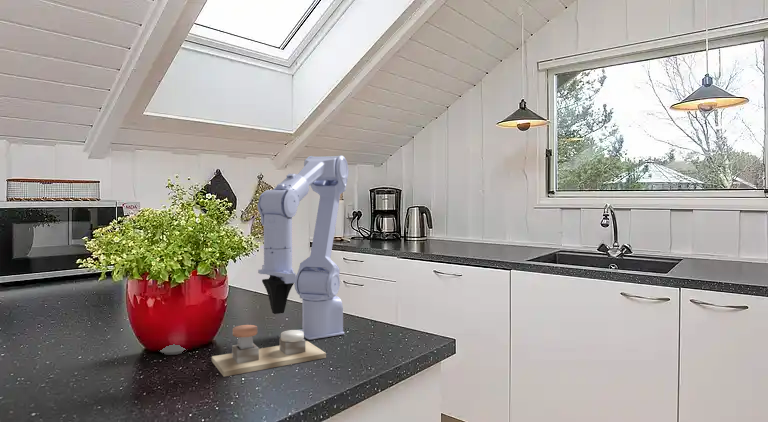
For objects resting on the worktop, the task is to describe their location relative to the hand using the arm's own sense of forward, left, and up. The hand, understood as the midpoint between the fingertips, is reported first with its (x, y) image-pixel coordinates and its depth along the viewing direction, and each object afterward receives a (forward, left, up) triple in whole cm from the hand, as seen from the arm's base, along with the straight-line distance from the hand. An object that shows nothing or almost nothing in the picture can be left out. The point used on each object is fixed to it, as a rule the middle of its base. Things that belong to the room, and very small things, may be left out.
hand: (278, 312), depth 105 cm
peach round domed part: (+7, 0, -6) cm, 9 cm away
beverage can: (+18, -16, -10) cm, 26 cm away
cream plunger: (-3, 0, -9) cm, 9 cm away
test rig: (+2, 0, -10) cm, 10 cm away
